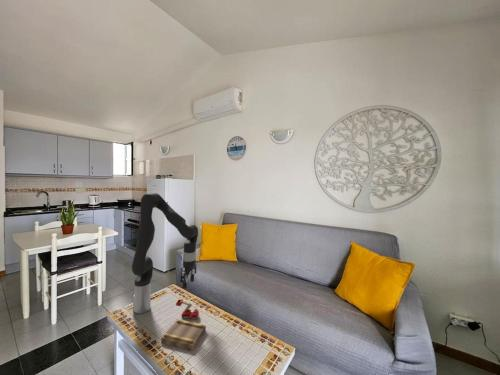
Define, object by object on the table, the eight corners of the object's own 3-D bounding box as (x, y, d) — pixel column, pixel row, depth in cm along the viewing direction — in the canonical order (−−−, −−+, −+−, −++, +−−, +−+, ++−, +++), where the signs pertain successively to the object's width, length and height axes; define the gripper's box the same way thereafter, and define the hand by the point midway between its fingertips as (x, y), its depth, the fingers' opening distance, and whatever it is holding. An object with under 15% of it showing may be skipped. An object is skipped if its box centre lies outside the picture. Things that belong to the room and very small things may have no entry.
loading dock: (161, 343, 105) (161, 335, 105) (177, 324, 119) (177, 317, 119) (192, 351, 101) (192, 343, 101) (205, 331, 115) (205, 324, 115)
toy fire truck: (197, 319, 124) (197, 303, 124) (175, 317, 125) (175, 301, 125) (199, 316, 127) (199, 300, 127) (178, 314, 129) (178, 298, 128)
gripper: (190, 253, 133) (189, 278, 133) (177, 262, 119) (176, 289, 119) (200, 255, 131) (199, 280, 131) (188, 263, 117) (187, 291, 118)
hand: (188, 284), depth 125 cm, fingers open, 8 cm apart
